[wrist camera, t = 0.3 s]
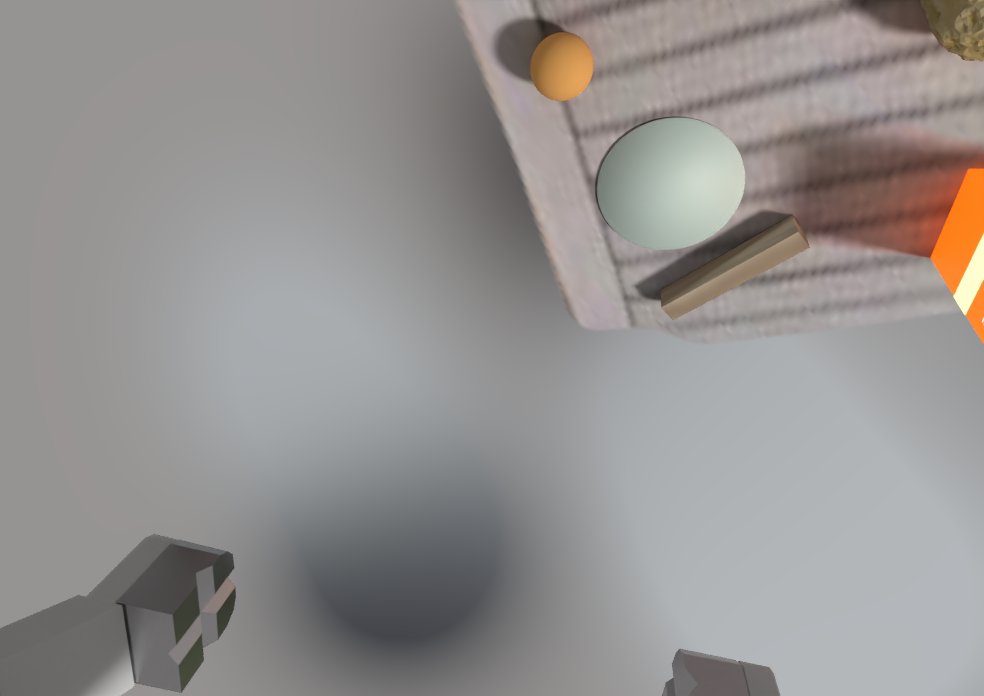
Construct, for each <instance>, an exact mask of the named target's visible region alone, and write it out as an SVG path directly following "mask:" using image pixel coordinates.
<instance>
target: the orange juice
mask: <svg viewBox="0 0 984 696" xmlns="http://www.w3.org/2000/svg"><path fill="white" fill-rule="evenodd" d="M931 260H932V261H933V263H934V264H935V266H936V268H937V269H938V271H939V273H940V274H941V276H942V277H943V279H944V281H945V282H946V284H947V285H948V287H949V289H950V290H951V292H952V294H953V295H954V298H955V300H956V302H957V303H958V305H959V306H960V308H961V310H962V311H963V313H964V315H966V316H967V318H968V319H969V321H970V323H971V324H972V326H973V328H974V329H975V331H976V332H977V334H978V336H979V337H980V339H981V341H982V342H983V344H984V169H968V171H967V174H966V176H965V178H964V181H963V183H962V185H961V188H960V190H959V192H958V195H957V197H956V199H955V202H954V204H953V206H952V209H951V211H950V213H949V216H948V218H947V220H946V223H945V225H944V227H943V230H942V232H941V234H940V237H939V239H938V241H937V244H936V246H935V248H934V251H933V253H932V255H931Z"/></svg>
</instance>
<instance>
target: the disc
mask: <svg viewBox="0 0 984 696" xmlns="http://www.w3.org/2000/svg"><path fill="white" fill-rule="evenodd" d="M744 186H745V170H744V164H743V161H742V158H741V155H740V153H739V151H738V149H737V147H736V146H735V145H734V143H733V142H732V141H731V139H730V138H729V137H728V136H727V135H726V134H724V133H723V132H722V131H720V130H719V129H718V128H716V127H714V126H712V125H710V124H708V123H706V122H703V121H700V120H697V119H692V118H683V117H672V118H664V119H658V120H655V121H651V122H648V123H646V124H643V125H641V126H639V127H637V128H635V129H634V130H632V131H631V132H629V133H628V134H626V135H625V136H624V137H623V138H621V139H620V140H619V141H618V142H617V143H616V144H615V145H614V147H613V148H612V149H611V150H610V152H609V153H608V155H607V156H606V158H605V160H604V162H603V164H602V167H601V169H600V173H599V177H598V183H597V197H598V203H599V206H600V209H601V212H602V214H603V216H604V218H605V220H606V221H607V222H608V224H609V225H610V226H611V228H612V229H613V230H614V231H615V232H616V233H618V234H619V235H620V236H621V237H623V238H624V239H626V240H628V241H629V242H632V243H634V244H636V245H639V246H642V247H645V248H650V249H658V250H672V249H679V248H684V247H688V246H691V245H694V244H697V243H699V242H701V241H703V240H705V239H707V238H708V237H710V236H712V235H713V234H715V233H716V232H717V231H718V230H720V229H721V228H722V227H723V226H724V225H725V224H726V223H727V222H728V221H729V219H730V218H731V217H732V216H733V214H734V213H735V211H736V209H737V208H738V206H739V203H740V201H741V199H742V195H743V192H744Z"/></svg>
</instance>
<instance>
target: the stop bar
mask: <svg viewBox="0 0 984 696" xmlns="http://www.w3.org/2000/svg"><path fill="white" fill-rule="evenodd" d="M807 248H809V244H808V241H807V239H806V236H805V233H804V231H803V229H802V228H801V226H800V225H799V223H798V222H797V221H796V219H795V218H794V216H793V215H791V216H789V217H788V218H786V219H784V220H782V221H781V222H779V223H777V224H775V225H774V226H772V227H770V228H768V229H767V230H765V231H763V232H761V233H760V234H758V235H756V236H754V237H753V238H751V239H749V240H747V241H746V242H744V243H742V244H740V245H739V246H737V247H735V248H733V249H732V250H730V251H728V252H726V253H725V254H723V255H721V256H719V257H718V258H716V259H714V260H712V261H711V262H709V263H707V264H705V265H704V266H702V267H700V268H698V269H697V270H695V271H693V272H691V273H690V274H688V275H686V276H684V277H683V278H681V279H679V280H677V281H676V282H674V283H672V284H670V285H669V286H667V287H665V288H663V289H662V290H661V308H662V309H663V310H664V311H665V312H666V313H667V314H668V316H669V317H670V318H671V319H672V320H675V319H676V318H678V317H680V316H682V315H684V314H686V313H688V312H689V311H691V310H693V309H695V308H697V307H699V306H701V305H703V304H704V303H706V302H708V301H710V300H712V299H714V298H716V297H718V296H719V295H721V294H723V293H725V292H727V291H729V290H731V289H733V288H734V287H736V286H738V285H740V284H742V283H744V282H746V281H748V280H749V279H751V278H753V277H755V276H757V275H759V274H761V273H763V272H764V271H766V270H768V269H770V268H772V267H774V266H776V265H778V264H779V263H781V262H783V261H785V260H787V259H789V258H791V257H793V256H794V255H796V254H798V253H800V252H802V251H804V250H806V249H807Z"/></svg>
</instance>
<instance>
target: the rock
mask: <svg viewBox="0 0 984 696" xmlns="http://www.w3.org/2000/svg"><path fill="white" fill-rule="evenodd" d="M920 3H921V6H922V8H923V9H924V10H925V17H926V19H927V20H928V24H929V27H930V29H931V31H932V32H933V34H934V36H935V37H936V39H937V40H938V42H939V43H940V45H941V46H942V47H944V48H946V49H947V50H948V52H951V53H955V54H958V55H959V56H960V57H962V59H963V60H966V61H967V60H969V61H974V60H979V61H984V0H920Z"/></svg>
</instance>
